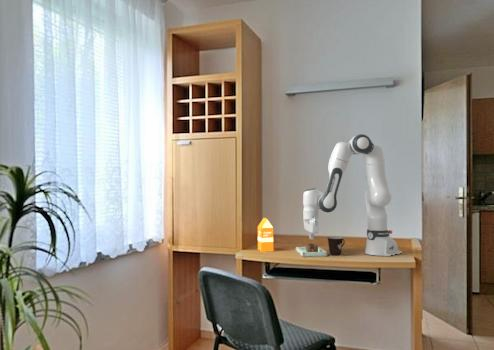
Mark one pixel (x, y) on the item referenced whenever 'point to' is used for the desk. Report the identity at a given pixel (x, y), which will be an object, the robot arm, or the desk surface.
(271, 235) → the orange juice
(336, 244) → the coffee mug
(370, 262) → the desk surface
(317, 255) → the tray
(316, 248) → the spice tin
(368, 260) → the desk surface
